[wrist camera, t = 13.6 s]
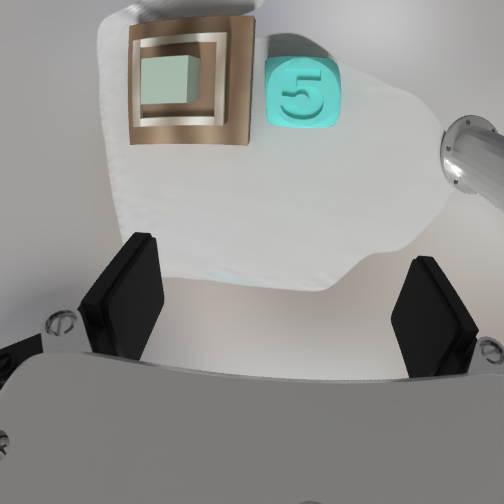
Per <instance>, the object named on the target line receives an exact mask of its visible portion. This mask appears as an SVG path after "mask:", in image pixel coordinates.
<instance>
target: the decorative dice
mask: <svg viewBox="0 0 504 504" xmlns="http://www.w3.org/2000/svg"><path fill="white" fill-rule="evenodd" d="M265 94H266V114H267V122H268V123H270V124H271V125H276V126H284V127H301V128H321V127H331V126H333V125H334V124H335V123H336V122H337V120H338V118H339V113H340V106H341V80H340V73H339V69H338V66H337V64H336V63H335V62H334V61H333V60H331V59H327V58H320V57H307V56H283V57H272V58H268V59H267V60H266V61H265Z"/></svg>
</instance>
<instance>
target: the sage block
mask: <svg viewBox="0 0 504 504" xmlns="http://www.w3.org/2000/svg"><path fill="white" fill-rule="evenodd" d="M200 63H201V59H200V58H196V57H193V56H189V55H183V56H167V57H155V58H145V59H141V104H161V103H188V102H192V101H197V100H199V83H200Z"/></svg>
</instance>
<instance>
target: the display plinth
mask: <svg viewBox="0 0 504 504" xmlns="http://www.w3.org/2000/svg"><path fill="white" fill-rule="evenodd" d="M255 23H256V20H255V18H254V16H209V17H193V18H182V19H172V20H164V21H156V22H150V23H143V24H137V25H132V26H130V27H129V48H128V112H129V135H130V145H136V144H224V145H246V146H247V145H248V143H249V141H250V121H251V101H252V80H253V61H254V42H255ZM183 55H189V56H193V57H196V58H200V59H201V63H200V83H199V100H197V101H192V102H188V103H161V104H141V59H145V58H155V57H167V56H183Z"/></svg>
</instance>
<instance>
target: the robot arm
mask: <svg viewBox="0 0 504 504" xmlns="http://www.w3.org/2000/svg"><path fill="white" fill-rule="evenodd" d="M446 147H447V148H446ZM441 164H442V168H443V172H444V174H445V176H446V178H447V180H448V181H449V183H450V184H451V185H452V186H453V187H454V188H456V189H457V190H458V191H460V192H462V193H466V194H477V193H479V194H480V195H481V196H483V197H484V198H485V199H487V200H488V201H489V202H491V203H492V204H493V205H494V206H496V207H497V208H498V209H499V210H501V211H502V212H503V213H504V136H503V135H500V134H498V132H497V131H496V129H495V128H494V126H493V125H492V124H491V123H490V122H489V121H487V120H485V119H484V118H482V117H479V116H474V115H468V116H464V117H461V118H459V119H458V120H456V121H455V122H454V123H453V124H452V125H451V126H450V127H449V129H448V131H447V132H446V134H445V136H444V139H443V142H442V147H441ZM163 305H164V291H163V285H162V278H161V272H160V264H159V257H158V249H157V242H156V238H154V237H152V236H151V234H150V233H140V232H135V233H134V234H133V235H132V236H131V237H130V238H129V240H128V241H127V242H126V243H125V245H124V246H123V247H122V248H121V250H120V251H119V252H118V253H117V255H116V256H115V257H114V258H113V260H112V261H111V262H110V264H109V265H108V266H107V267H106V269H105V270H104V271H103V272H102V274H101V275H100V276H99V278H98V279H97V280H96V282H95V283H94V285H93V286H92V287H91V288H90V290H89V291H88V293H87V294H86V296H85V297H84V298H83V300H82V301H81V305H80V306H79V307H78V309H77V310H76V309H75V308H72V307H62V308H58V309H55V310H53V311H52V312H50V313H49V314H47V315H46V317H45V318H44V319H43V321H42V323H41V329H40V330H41V333H40V334H37V335H35V336H32V337H30V338H27V339H25V340H22V341H20V342H17V343H15V344H12V345H10V346H7V347H5V348H3V349H0V504H504V347H503V345H502V344H500V342H498V341H497V340H495V339H493V338H491V337H481V338H480V339H478V340H477V338H476V335H477V333H478V332H479V330H478V328H477V326H476V324H475V322H474V321H473V319H472V317H471V316H470V314H469V312H468V310H467V309H466V307H465V306H464V304H463V302H462V301H461V299H460V297H459V296H458V294H457V292H456V291H455V289H454V288H453V286H452V285H451V283H450V282H449V280H448V279H447V277H446V276H445V274H444V273H443V271H442V270H441V268H440V267H439V265H438V264H437V262H436V261H435V259H434V258H433V257H429V256H418V257H417V258H416V259H413V261H412V263H411V265H410V268H409V271H408V274H407V276H406V279H405V282H404V284H403V287H402V290H401V292H400V295H399V297H398V300H397V302H396V305H395V307H394V310H393V312H392V316H391V323H392V326H393V329H394V332H395V335H396V338H397V341H398V344H399V346H400V349H401V353H402V355H403V359H404V362H405V365H406V368H407V372H408V375H409V378H406V379H386V380H306V379H285V378H270V377H257V376H245V375H235V374H225V373H217V372H208V371H201V370H193V369H187V368H180V367H173V366H167V365H160V364H155V363H148V362H143V361H139V360H140V357H141V355H142V353H143V351H144V348H145V346H146V344H147V341H148V339H149V337H150V334H151V332H152V330H153V327H154V325H155V323H156V321H157V318H158V316H159V314H160V312H161V309H162V307H163Z"/></svg>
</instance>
